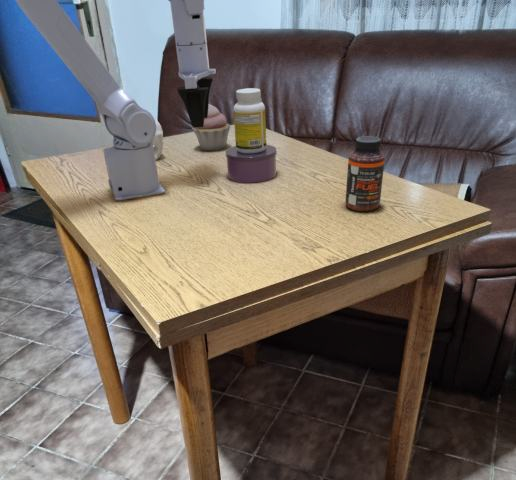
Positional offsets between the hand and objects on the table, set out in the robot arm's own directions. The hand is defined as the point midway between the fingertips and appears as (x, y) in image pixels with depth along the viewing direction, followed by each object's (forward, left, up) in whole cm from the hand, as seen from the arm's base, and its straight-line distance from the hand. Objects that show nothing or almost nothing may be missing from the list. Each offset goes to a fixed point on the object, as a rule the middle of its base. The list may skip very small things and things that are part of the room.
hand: (200, 122), depth 102 cm
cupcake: (+8, +20, -11) cm, 24 cm away
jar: (+9, -5, -10) cm, 14 cm away
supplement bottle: (+20, -31, -11) cm, 38 cm away
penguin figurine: (-10, +19, -11) cm, 24 cm away
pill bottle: (+9, -5, -6) cm, 12 cm away
